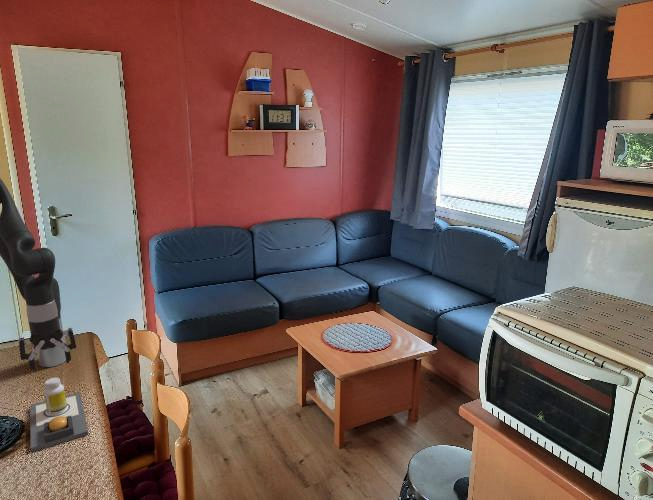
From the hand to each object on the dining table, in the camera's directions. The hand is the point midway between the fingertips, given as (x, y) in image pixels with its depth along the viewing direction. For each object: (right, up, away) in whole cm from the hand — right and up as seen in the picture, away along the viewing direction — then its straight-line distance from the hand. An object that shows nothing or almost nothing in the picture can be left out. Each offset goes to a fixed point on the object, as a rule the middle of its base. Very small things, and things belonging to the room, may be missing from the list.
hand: (51, 365), depth 139 cm
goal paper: (0, -15, +3) cm, 15 cm away
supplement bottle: (0, -14, +4) cm, 15 cm away
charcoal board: (+2, -17, +1) cm, 17 cm away
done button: (+6, -16, -7) cm, 18 cm away
